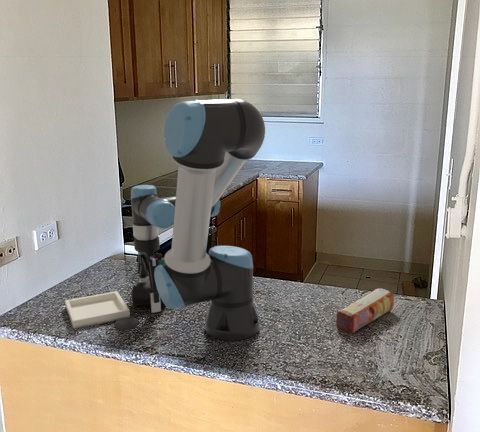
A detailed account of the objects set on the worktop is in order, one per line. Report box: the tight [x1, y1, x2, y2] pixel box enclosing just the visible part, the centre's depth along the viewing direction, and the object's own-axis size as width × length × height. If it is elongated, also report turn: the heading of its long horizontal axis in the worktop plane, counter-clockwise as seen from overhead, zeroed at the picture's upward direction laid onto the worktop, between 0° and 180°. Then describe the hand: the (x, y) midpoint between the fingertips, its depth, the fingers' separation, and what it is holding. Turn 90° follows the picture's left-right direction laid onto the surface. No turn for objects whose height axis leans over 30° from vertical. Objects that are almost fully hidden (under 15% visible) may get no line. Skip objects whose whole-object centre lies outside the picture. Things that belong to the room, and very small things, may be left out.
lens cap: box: [114, 317, 139, 331], centre depth 150 cm, size 6×6×1 cm
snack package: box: [335, 288, 395, 334], centre depth 149 cm, size 21×7×7 cm, turn 135°
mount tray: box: [64, 290, 131, 330], centre depth 157 cm, size 16×16×2 cm
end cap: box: [131, 281, 166, 307], centre depth 162 cm, size 10×7×7 cm
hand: (150, 304), depth 162 cm, fingers open, 11 cm apart
